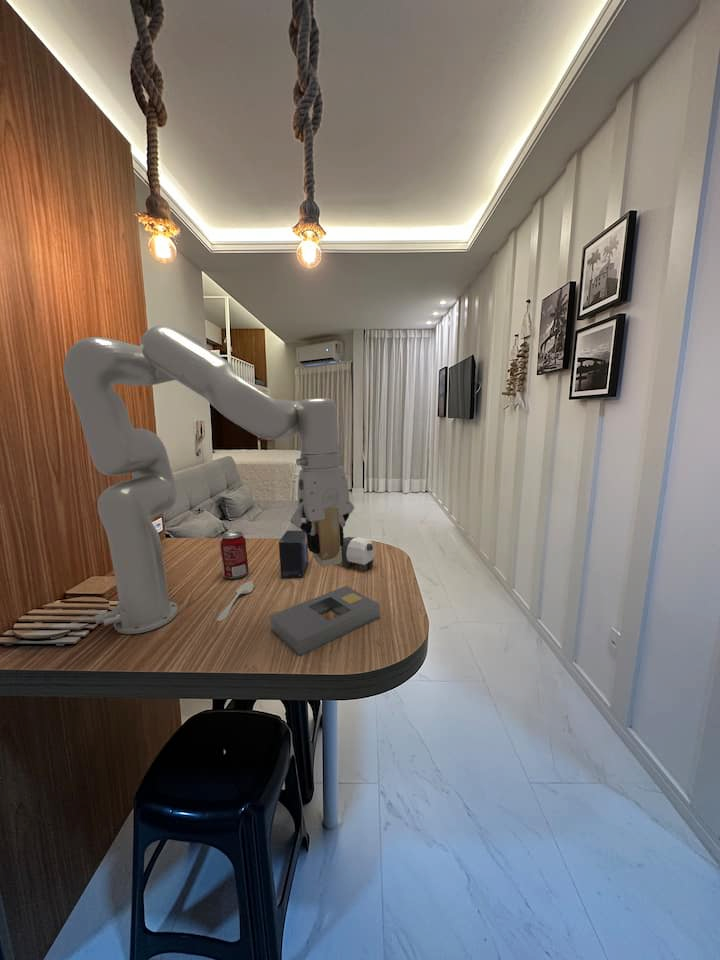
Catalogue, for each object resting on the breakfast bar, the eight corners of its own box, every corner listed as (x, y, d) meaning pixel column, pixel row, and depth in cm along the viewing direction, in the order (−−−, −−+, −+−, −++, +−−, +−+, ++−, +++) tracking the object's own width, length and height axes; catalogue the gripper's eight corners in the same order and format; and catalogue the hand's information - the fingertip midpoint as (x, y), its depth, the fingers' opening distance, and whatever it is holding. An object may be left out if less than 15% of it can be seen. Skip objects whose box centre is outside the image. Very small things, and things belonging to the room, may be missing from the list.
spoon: (258, 586, 100) (257, 580, 100) (220, 631, 80) (219, 624, 80) (243, 586, 101) (242, 580, 101) (202, 630, 81) (201, 623, 80)
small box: (304, 578, 103) (301, 541, 102) (280, 578, 104) (277, 542, 102) (309, 562, 114) (307, 529, 112) (288, 563, 114) (285, 530, 112)
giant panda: (377, 566, 109) (376, 535, 107) (367, 573, 104) (366, 540, 103) (337, 557, 117) (335, 528, 115) (326, 563, 113) (324, 533, 111)
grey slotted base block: (299, 655, 70) (298, 640, 70) (270, 629, 79) (269, 615, 79) (379, 616, 82) (379, 603, 82) (346, 597, 92) (346, 585, 91)
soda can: (249, 577, 105) (245, 536, 103) (224, 582, 103) (219, 540, 101) (247, 568, 111) (243, 529, 109) (223, 573, 109) (218, 533, 107)
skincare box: (312, 558, 81) (308, 502, 79) (331, 554, 83) (328, 499, 81) (322, 568, 75) (317, 509, 73) (342, 564, 77) (338, 505, 75)
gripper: (291, 468, 67) (299, 565, 70) (365, 458, 78) (369, 542, 81) (272, 465, 73) (280, 554, 76) (343, 456, 83) (348, 534, 87)
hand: (326, 547), depth 78 cm, fingers closed on skincare box, 5 cm apart
